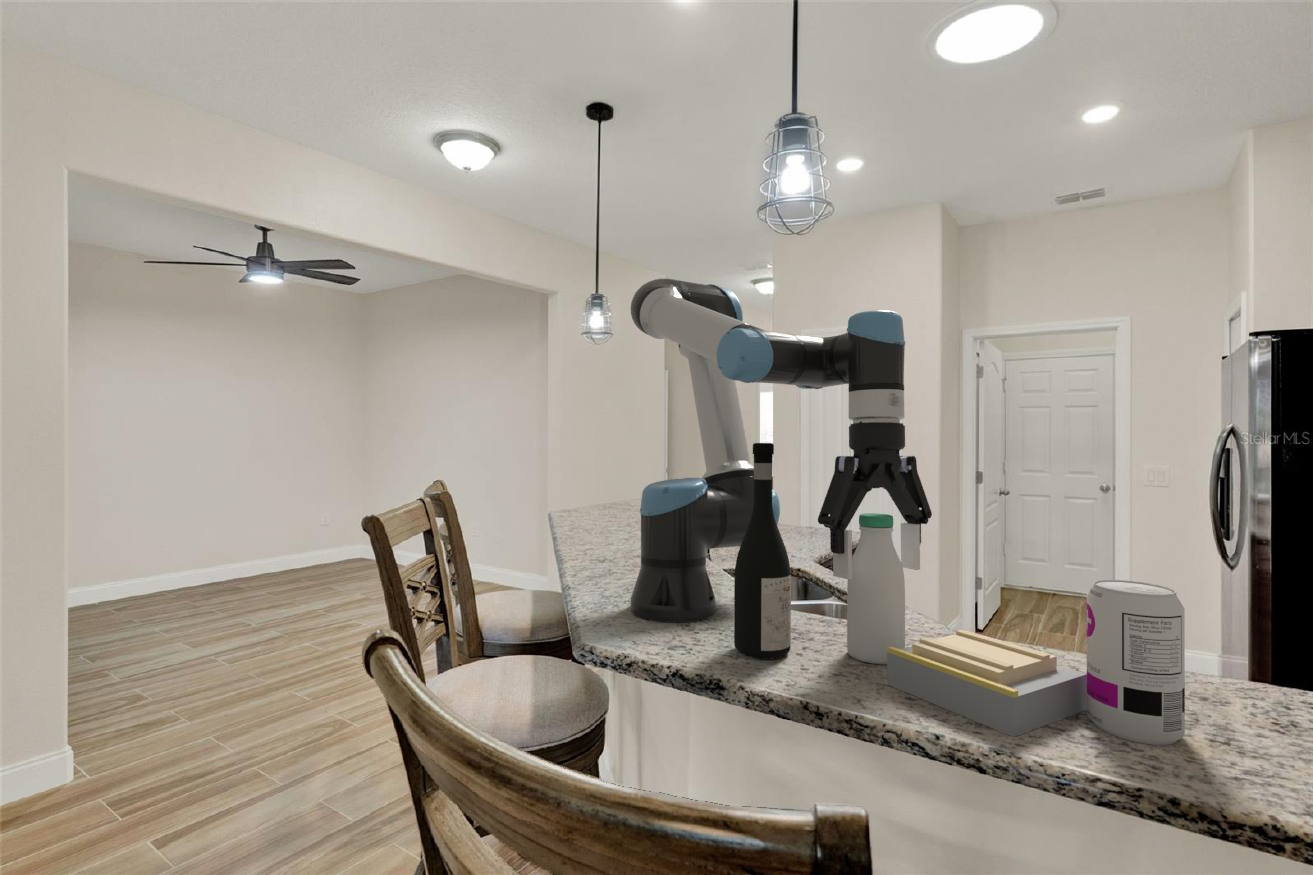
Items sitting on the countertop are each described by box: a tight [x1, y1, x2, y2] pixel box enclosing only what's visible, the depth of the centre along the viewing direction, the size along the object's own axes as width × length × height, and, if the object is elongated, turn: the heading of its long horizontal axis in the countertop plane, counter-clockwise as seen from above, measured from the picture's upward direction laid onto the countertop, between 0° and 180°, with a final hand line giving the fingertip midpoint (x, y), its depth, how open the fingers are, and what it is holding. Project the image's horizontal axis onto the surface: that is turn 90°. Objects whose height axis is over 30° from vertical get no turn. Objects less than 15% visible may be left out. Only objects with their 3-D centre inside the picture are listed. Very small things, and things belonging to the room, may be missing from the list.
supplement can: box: [1086, 579, 1186, 746], centre depth 66 cm, size 8×8×15 cm
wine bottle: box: [733, 442, 792, 660], centre depth 90 cm, size 8×8×30 cm
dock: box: [886, 629, 1087, 738], centre depth 75 cm, size 16×14×6 cm
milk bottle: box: [846, 512, 906, 665], centre depth 89 cm, size 8×8×20 cm
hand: (877, 573), depth 88 cm, fingers open, 13 cm apart
